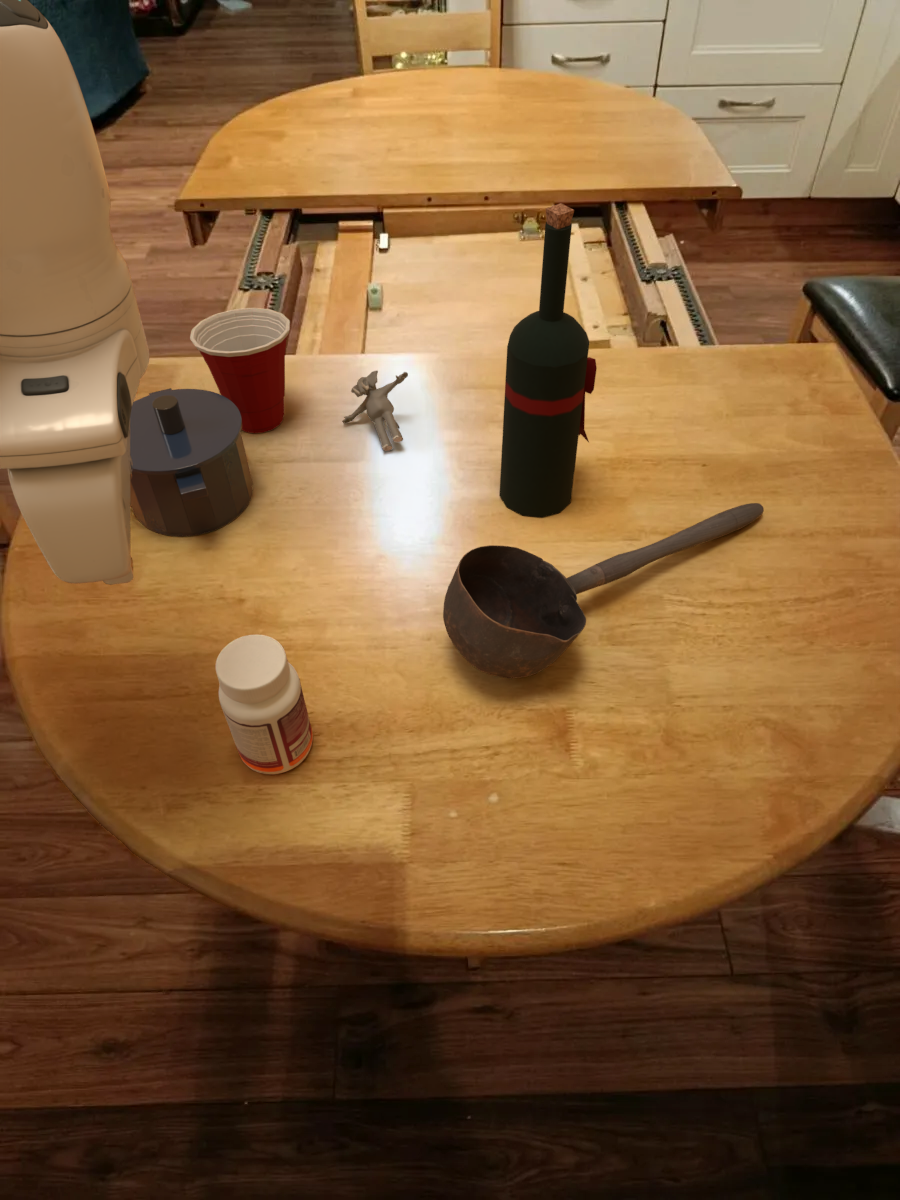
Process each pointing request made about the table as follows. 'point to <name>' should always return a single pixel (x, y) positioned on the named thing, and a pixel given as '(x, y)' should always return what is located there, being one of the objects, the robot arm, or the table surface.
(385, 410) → the elephant figurine
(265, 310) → the plastic cup
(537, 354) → the wine bottle
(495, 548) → the ladle
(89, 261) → the robot arm
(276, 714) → the pill bottle
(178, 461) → the pot lid
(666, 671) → the table surface
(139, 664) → the table surface
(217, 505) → the pot
